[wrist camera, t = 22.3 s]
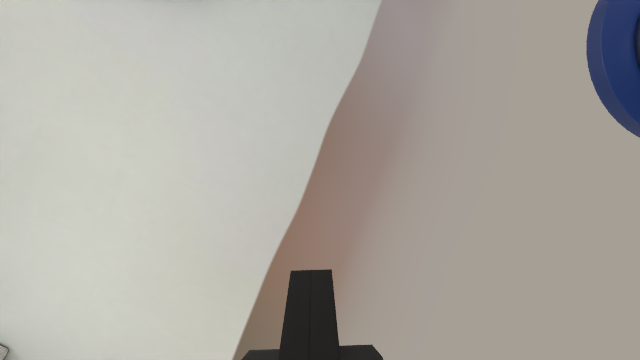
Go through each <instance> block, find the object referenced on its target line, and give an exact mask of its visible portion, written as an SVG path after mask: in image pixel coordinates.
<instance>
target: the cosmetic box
mask: <svg viewBox="0 0 640 360" xmlns="http://www.w3.org/2000/svg"><path fill="white" fill-rule="evenodd" d="M7 352H8V349H7V348H5V347H3V346H1V345H0V360H3V359H4V357H5V356H6V354H7Z"/></svg>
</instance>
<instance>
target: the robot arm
mask: <svg viewBox="0 0 640 360" xmlns="http://www.w3.org/2000/svg"><path fill="white" fill-rule="evenodd" d="M634 52H635V58H636V62H637V65H638V68H639V70H640V14H639V17H638V19H637V23H636V26H635V32H634ZM242 360H383V358H382V356H381V355H380V354H379V352H378V351H377V350H376V349H375V348H374V347H373V346H372V345H353V346H339V340H338V331H337V320H336V310H335V300H334V290H333V280H332V270H302V271H291V274H290V281H289V288H288V295H287V302H286V309H285V316H284V323H283V330H282V337H281V344H280V349H272V350H250V351H248V353H247V354H246V355H245V356H244V357H243V359H242Z"/></svg>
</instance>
